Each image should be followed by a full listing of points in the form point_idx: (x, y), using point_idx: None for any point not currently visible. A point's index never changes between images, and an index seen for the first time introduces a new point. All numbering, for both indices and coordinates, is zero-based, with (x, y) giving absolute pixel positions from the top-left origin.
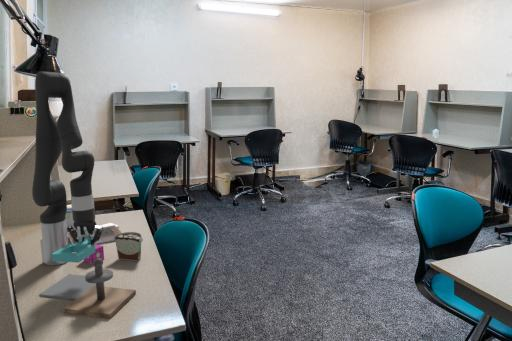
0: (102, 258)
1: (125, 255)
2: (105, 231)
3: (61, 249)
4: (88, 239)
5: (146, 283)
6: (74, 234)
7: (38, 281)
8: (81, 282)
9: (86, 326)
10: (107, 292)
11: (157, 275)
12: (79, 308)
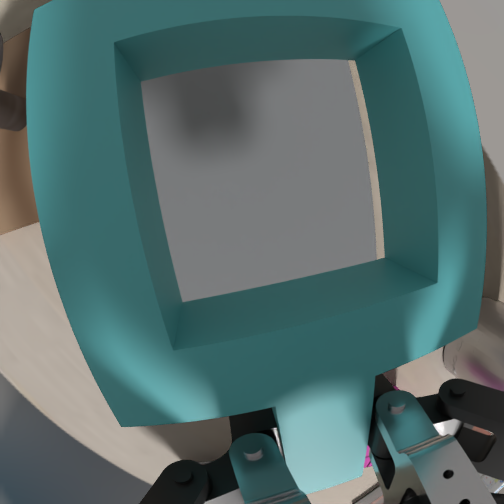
0: None
1: None
2: None
3: (459, 115)
4: (273, 484)
5: (9, 329)
6: (501, 434)
7: None
8: (249, 217)
9: (12, 11)
10: (27, 170)
11: (33, 391)
12: None
